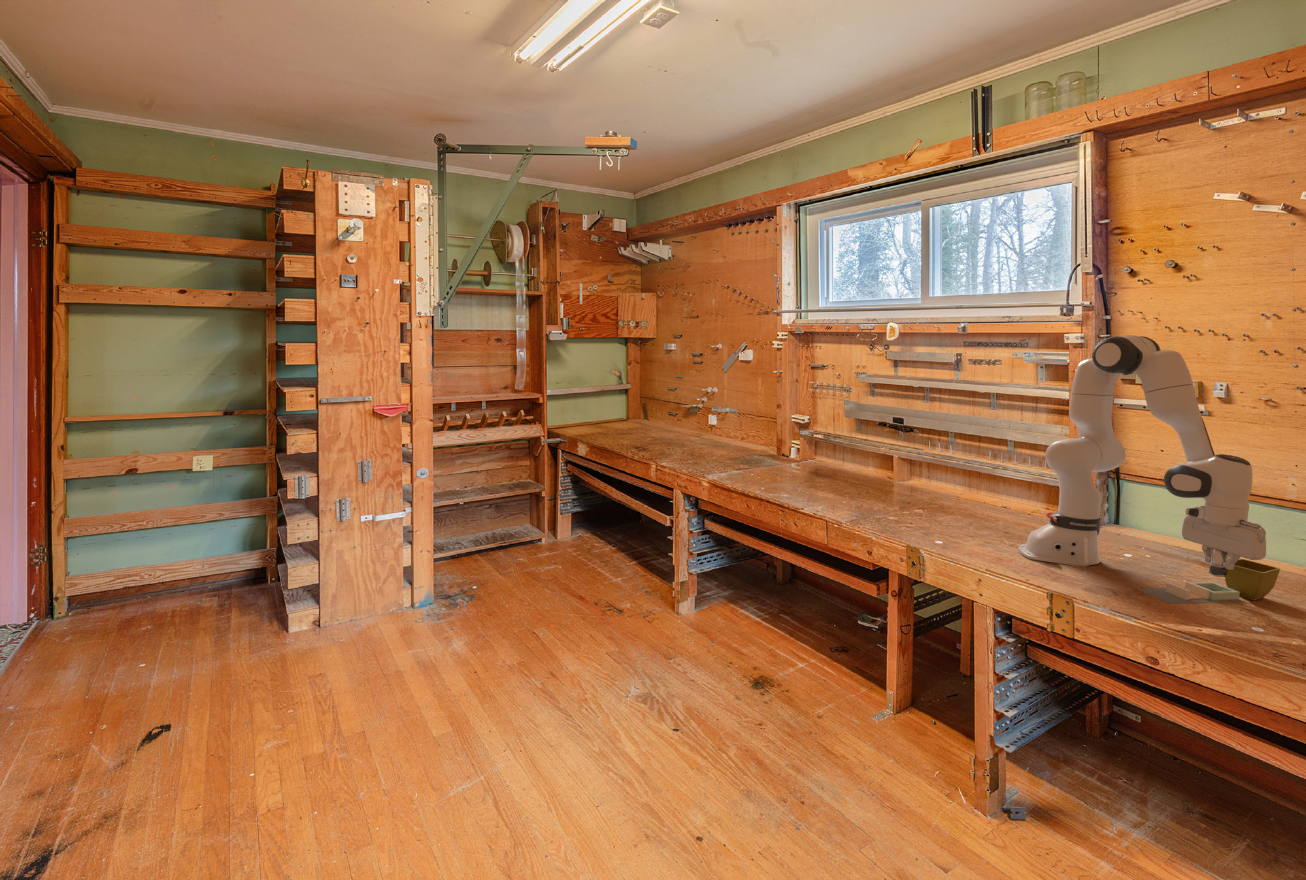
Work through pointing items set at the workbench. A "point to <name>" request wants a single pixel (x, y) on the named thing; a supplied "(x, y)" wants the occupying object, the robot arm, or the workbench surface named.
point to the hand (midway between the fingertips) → (1218, 565)
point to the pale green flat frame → (1219, 591)
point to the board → (1174, 599)
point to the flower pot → (1252, 579)
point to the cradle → (1188, 591)
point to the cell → (1218, 563)
